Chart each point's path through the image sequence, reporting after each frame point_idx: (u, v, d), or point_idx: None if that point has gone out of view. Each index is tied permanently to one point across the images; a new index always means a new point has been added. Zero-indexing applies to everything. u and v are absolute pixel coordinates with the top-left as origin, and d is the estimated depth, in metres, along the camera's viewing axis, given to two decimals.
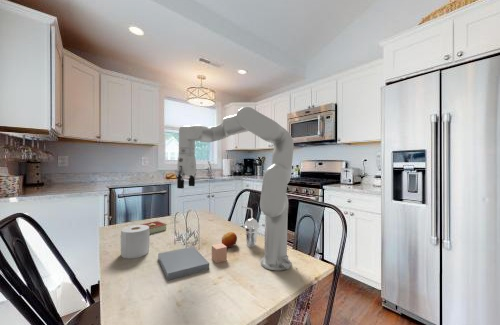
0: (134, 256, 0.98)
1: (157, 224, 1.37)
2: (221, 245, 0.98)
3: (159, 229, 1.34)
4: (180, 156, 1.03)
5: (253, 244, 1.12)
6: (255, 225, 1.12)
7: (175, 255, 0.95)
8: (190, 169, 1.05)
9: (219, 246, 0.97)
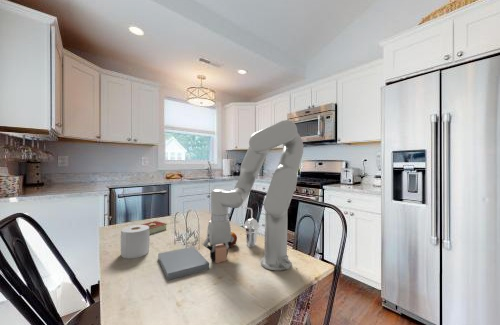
0: (134, 256, 0.98)
1: (157, 224, 1.38)
2: (221, 245, 0.98)
3: (159, 229, 1.35)
4: None
5: (253, 244, 1.12)
6: (255, 225, 1.12)
7: (175, 255, 0.95)
8: None
9: (219, 246, 0.97)
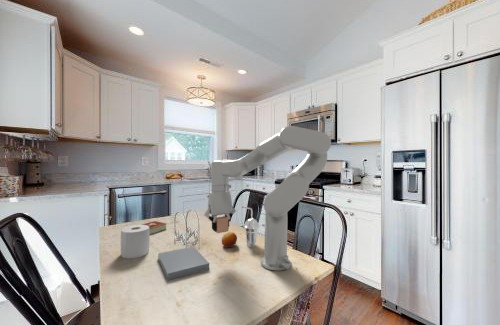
0: (134, 256, 0.98)
1: (157, 224, 1.38)
2: (222, 216, 0.98)
3: (160, 229, 1.36)
4: None
5: (253, 244, 1.12)
6: (255, 225, 1.12)
7: (175, 255, 0.95)
8: None
9: (220, 217, 0.97)
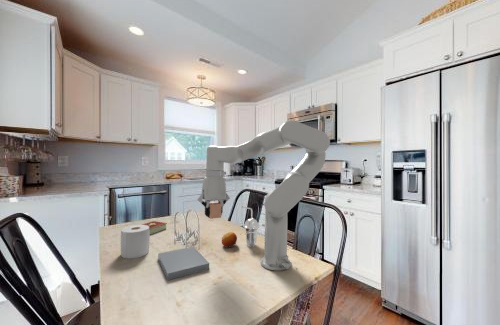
0: (134, 256, 0.98)
1: (157, 223, 1.38)
2: (216, 203, 0.97)
3: (160, 229, 1.36)
4: None
5: (253, 244, 1.12)
6: (255, 225, 1.12)
7: (175, 255, 0.95)
8: None
9: (213, 203, 0.97)
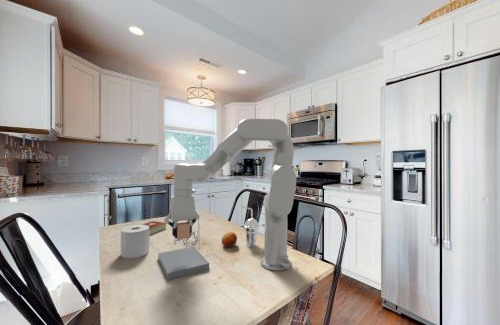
0: (134, 256, 0.98)
1: (157, 223, 1.38)
2: (184, 222, 0.94)
3: (160, 228, 1.36)
4: (193, 197, 0.95)
5: (253, 244, 1.12)
6: (255, 225, 1.12)
7: (175, 255, 0.95)
8: None
9: (182, 223, 0.93)
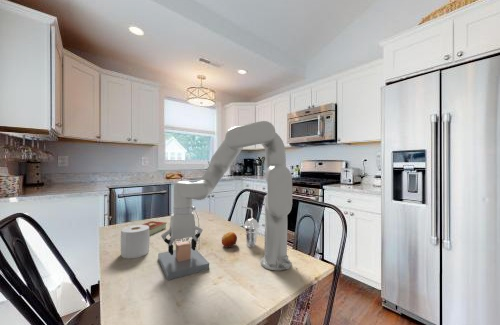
0: (134, 256, 0.98)
1: (157, 223, 1.39)
2: (185, 243, 0.94)
3: (160, 228, 1.37)
4: (193, 214, 0.95)
5: (253, 244, 1.12)
6: (255, 225, 1.12)
7: (175, 255, 0.95)
8: None
9: (182, 244, 0.93)
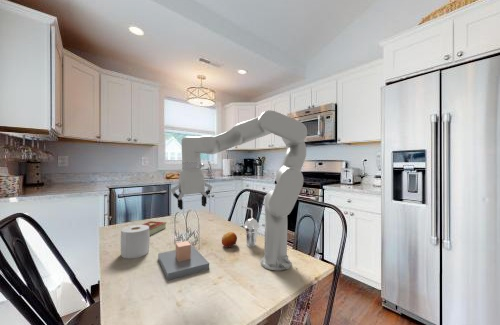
0: (134, 256, 0.98)
1: (157, 223, 1.39)
2: (185, 243, 0.94)
3: (161, 228, 1.37)
4: None
5: (253, 244, 1.12)
6: (255, 225, 1.12)
7: (175, 255, 0.95)
8: None
9: (182, 244, 0.93)
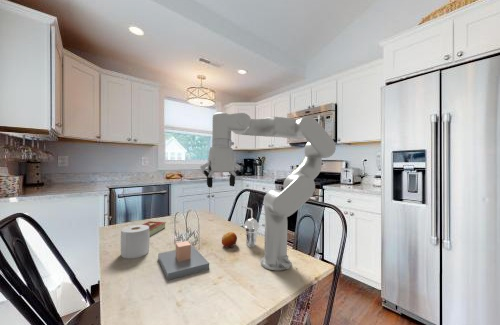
0: (134, 256, 0.98)
1: (156, 223, 1.39)
2: (185, 243, 0.94)
3: (161, 228, 1.38)
4: None
5: (253, 244, 1.12)
6: (255, 225, 1.12)
7: (175, 255, 0.95)
8: None
9: (182, 244, 0.93)
